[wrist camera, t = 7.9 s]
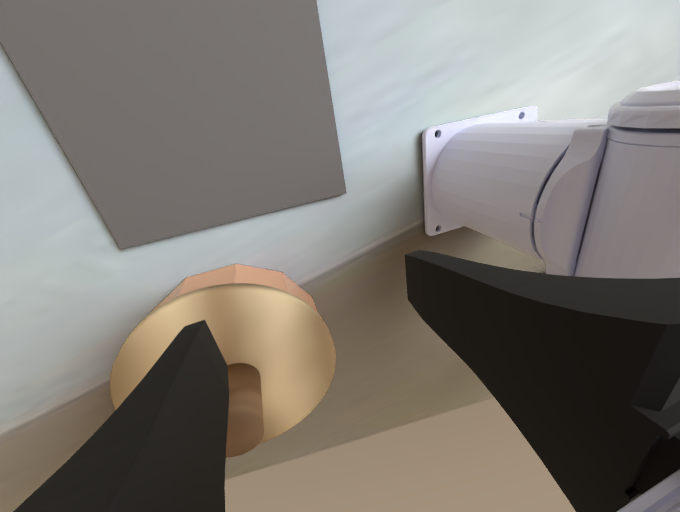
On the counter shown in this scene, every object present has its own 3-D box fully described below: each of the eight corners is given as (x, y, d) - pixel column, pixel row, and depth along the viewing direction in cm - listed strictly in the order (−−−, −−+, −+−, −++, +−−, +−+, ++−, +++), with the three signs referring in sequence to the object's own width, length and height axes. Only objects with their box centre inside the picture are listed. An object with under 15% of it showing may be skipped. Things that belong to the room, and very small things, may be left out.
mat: (297, -103, 13) (299, -109, 13) (344, 192, 19) (346, 193, 19) (-72, -93, 10) (-83, -100, 10) (123, 246, 17) (120, 249, 16)
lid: (311, 256, 16) (332, 295, 12) (345, 397, 22) (367, 455, 18) (63, 328, 14) (-8, 405, 10) (175, 467, 19) (158, 550, 16)
